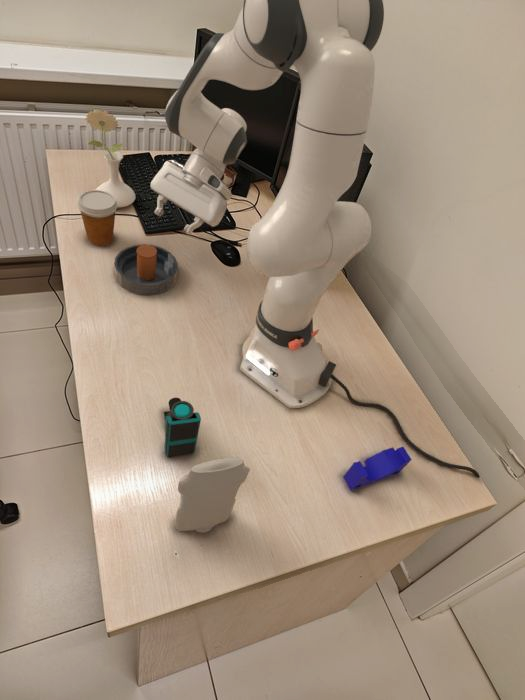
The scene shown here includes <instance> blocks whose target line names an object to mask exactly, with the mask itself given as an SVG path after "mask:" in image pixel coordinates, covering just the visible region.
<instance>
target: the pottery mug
mask: <svg viewBox="0 0 525 700" xmlns="http://www.w3.org/2000/svg"><path fill="white" fill-rule="evenodd" d="M236 174H237V173H236V170H235V169H234V168H233V167H232V166H231V164H229V165H226V167H225V170H224V173H223V175H222V177H221V180H222V181H223V182H224V180H225V176H226V177H227V178H229V179H231V180H232V181H231V183H230V186H231V187H232V186H233V185H234V183H235V175H236Z"/></svg>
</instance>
